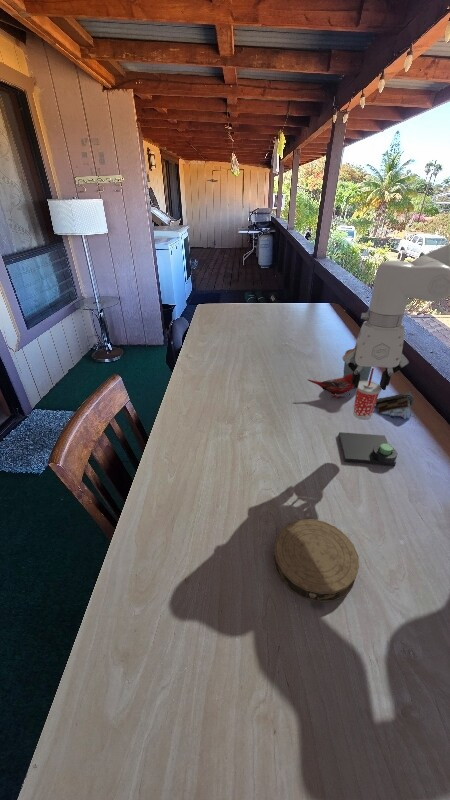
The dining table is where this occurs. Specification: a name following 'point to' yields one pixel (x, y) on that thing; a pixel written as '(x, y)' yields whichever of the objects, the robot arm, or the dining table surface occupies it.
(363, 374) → the green cylindrical pot
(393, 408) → the chocolate cake
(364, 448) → the scale
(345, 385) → the decorative bird figurine
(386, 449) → the tare button
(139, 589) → the dining table surface
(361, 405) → the beverage cup
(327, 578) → the wood log slice
